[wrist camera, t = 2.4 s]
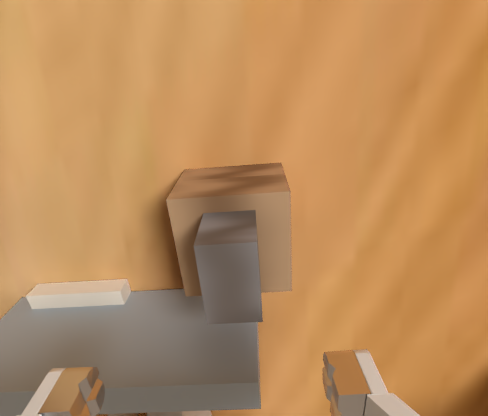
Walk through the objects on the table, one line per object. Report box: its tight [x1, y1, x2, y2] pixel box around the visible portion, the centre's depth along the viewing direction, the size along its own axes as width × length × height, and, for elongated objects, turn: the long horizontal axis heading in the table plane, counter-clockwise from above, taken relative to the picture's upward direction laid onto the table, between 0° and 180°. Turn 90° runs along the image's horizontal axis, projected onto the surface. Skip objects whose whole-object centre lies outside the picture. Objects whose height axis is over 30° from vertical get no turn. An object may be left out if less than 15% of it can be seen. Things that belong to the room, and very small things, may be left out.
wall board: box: [0, 279, 261, 416], centre depth 23 cm, size 21×4×9 cm, turn 95°
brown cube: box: [166, 163, 292, 325], centre depth 20 cm, size 7×7×9 cm
